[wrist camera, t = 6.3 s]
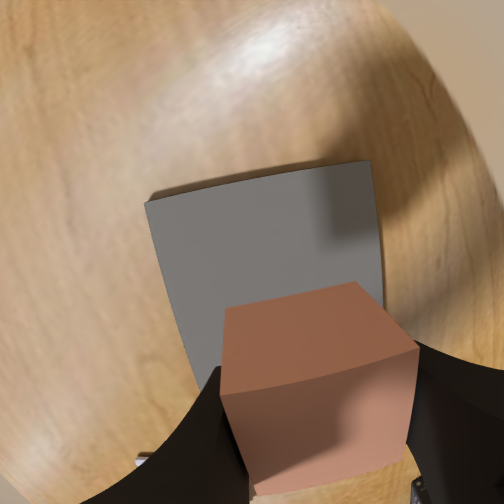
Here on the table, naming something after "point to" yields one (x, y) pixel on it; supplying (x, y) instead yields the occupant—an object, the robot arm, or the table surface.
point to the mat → (263, 246)
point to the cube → (316, 387)
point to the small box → (419, 492)
